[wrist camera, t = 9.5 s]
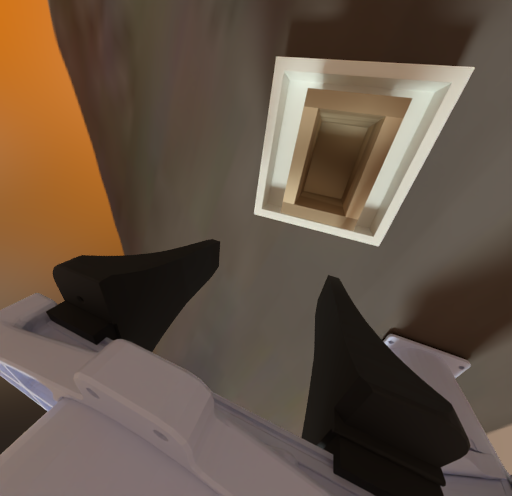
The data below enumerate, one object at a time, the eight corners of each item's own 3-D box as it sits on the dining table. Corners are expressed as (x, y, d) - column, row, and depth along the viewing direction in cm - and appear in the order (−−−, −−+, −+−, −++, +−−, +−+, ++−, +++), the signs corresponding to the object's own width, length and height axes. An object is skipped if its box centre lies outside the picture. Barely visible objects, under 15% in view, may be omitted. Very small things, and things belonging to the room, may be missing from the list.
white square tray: (372, 234, 18) (378, 246, 16) (262, 207, 21) (253, 214, 18) (448, 83, 13) (475, 67, 10) (284, 71, 15) (276, 56, 13)
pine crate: (346, 208, 17) (353, 231, 12) (294, 196, 19) (280, 212, 13) (382, 117, 14) (412, 97, 9) (315, 109, 15) (307, 87, 10)
